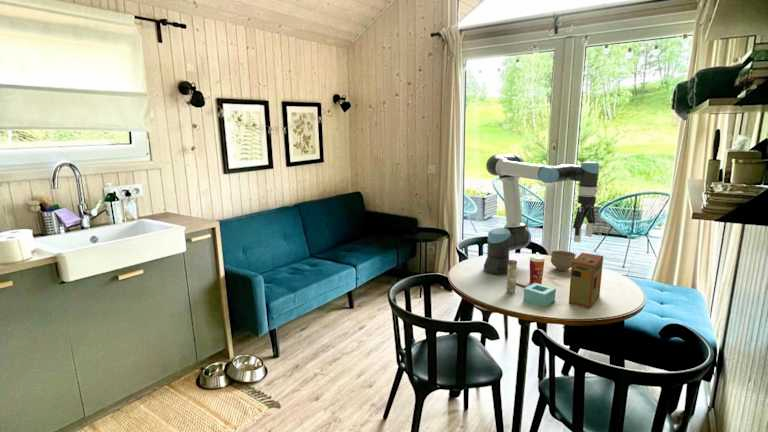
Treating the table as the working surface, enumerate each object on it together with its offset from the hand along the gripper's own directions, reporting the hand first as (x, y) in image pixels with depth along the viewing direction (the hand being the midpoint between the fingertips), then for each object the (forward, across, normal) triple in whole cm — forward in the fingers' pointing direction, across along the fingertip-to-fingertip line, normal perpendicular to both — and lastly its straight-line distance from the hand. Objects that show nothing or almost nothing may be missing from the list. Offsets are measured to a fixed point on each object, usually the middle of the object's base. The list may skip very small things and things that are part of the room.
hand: (582, 239), depth 194 cm
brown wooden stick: (+26, -16, +24) cm, 38 cm away
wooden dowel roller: (+26, -27, +21) cm, 43 cm away
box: (+26, -12, -8) cm, 29 cm away
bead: (+26, -26, +7) cm, 37 cm away
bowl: (+26, +22, +17) cm, 38 cm away
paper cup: (+26, -7, +18) cm, 32 cm away
